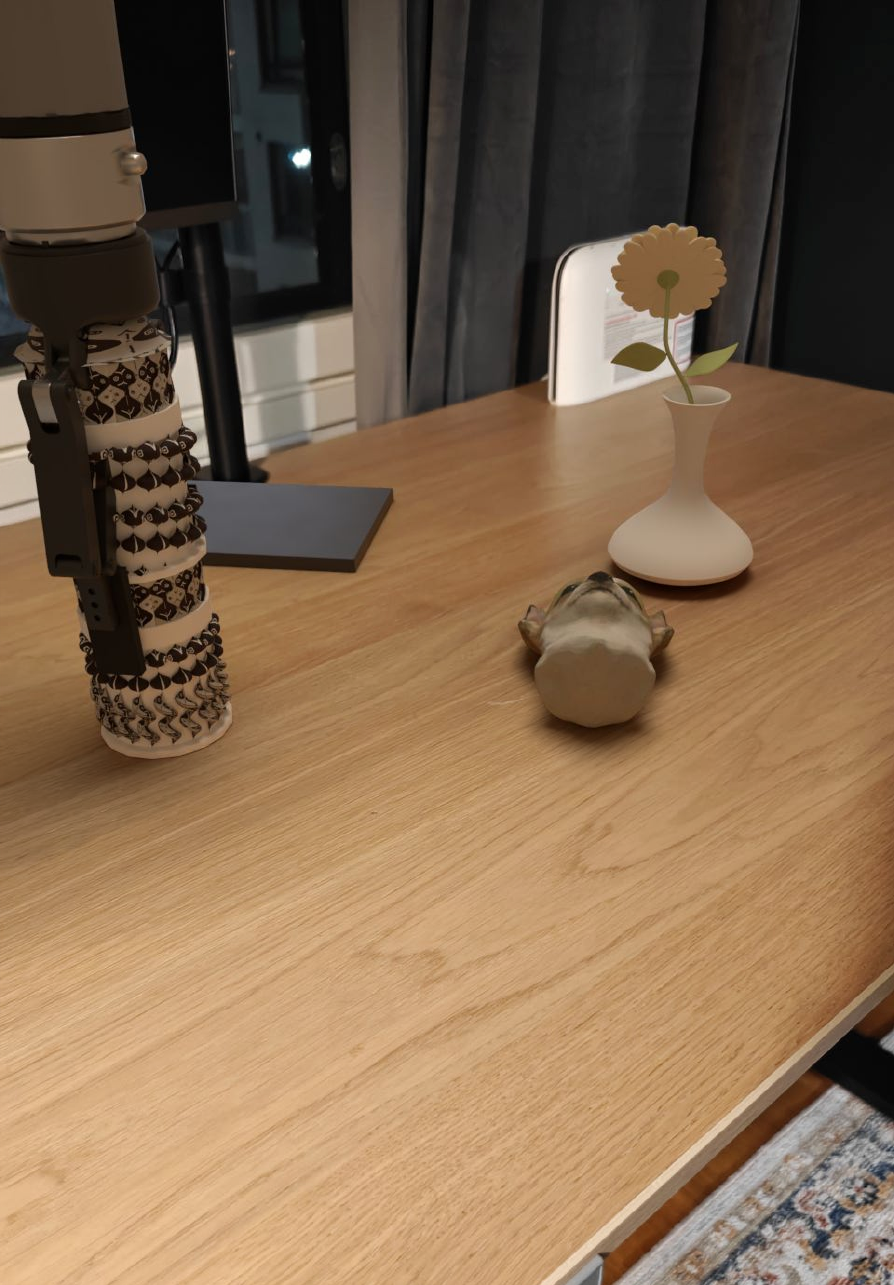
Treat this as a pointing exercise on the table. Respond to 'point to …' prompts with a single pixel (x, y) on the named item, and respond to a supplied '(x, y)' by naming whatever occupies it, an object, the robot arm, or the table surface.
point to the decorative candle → (149, 545)
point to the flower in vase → (678, 417)
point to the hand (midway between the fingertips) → (151, 635)
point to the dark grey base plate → (290, 524)
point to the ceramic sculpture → (595, 650)
